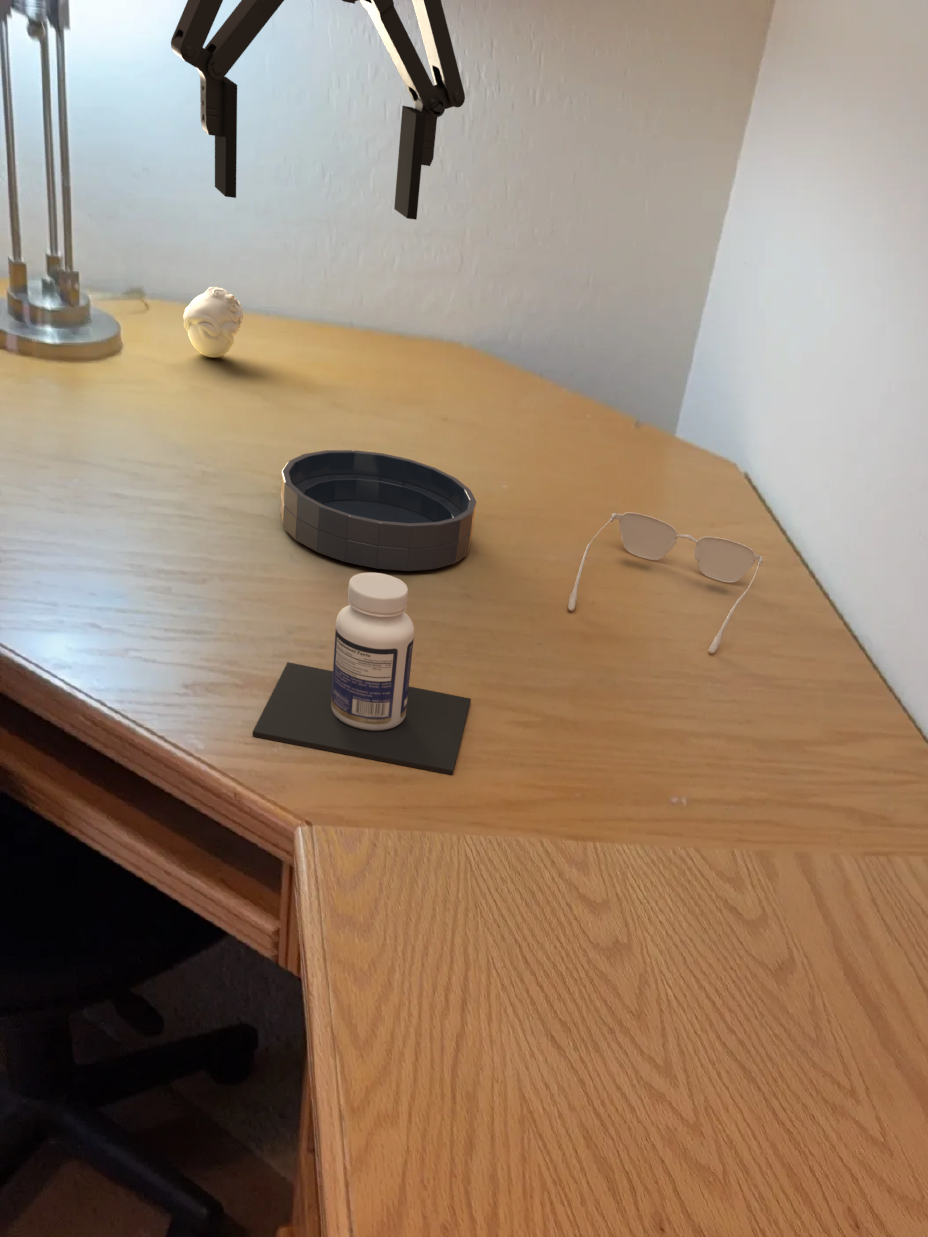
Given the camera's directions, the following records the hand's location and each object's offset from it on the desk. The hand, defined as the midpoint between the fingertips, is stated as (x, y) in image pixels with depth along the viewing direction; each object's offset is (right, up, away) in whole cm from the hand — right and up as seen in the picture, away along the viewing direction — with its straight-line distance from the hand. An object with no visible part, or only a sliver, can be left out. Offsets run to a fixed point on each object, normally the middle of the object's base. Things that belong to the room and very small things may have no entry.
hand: (318, 204), depth 94 cm
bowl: (0, -14, +25) cm, 29 cm away
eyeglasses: (+27, -20, +27) cm, 43 cm away
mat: (+4, -38, 0) cm, 38 cm away
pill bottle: (+4, -38, 0) cm, 38 cm away
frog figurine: (-23, +18, +54) cm, 61 cm away
